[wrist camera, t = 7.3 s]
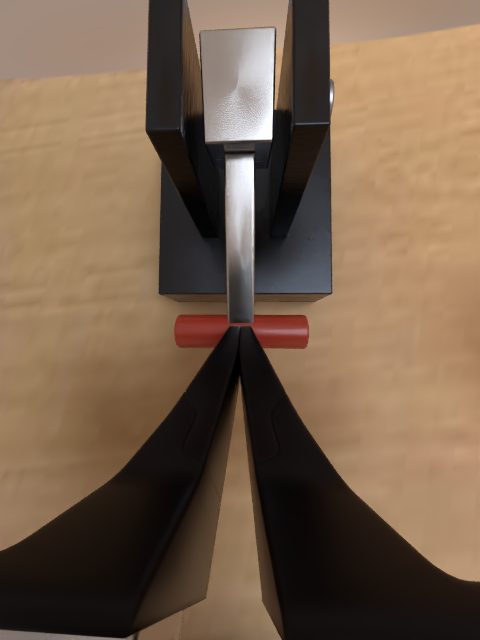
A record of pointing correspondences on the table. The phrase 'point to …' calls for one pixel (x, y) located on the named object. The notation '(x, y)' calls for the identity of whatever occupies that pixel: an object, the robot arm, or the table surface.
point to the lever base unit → (270, 184)
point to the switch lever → (239, 177)
